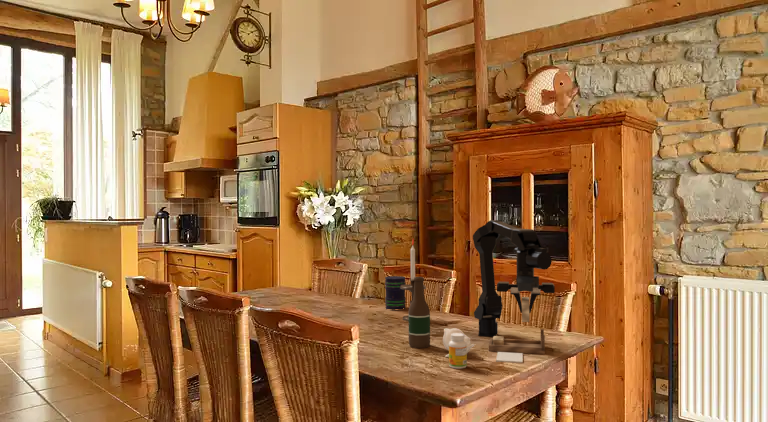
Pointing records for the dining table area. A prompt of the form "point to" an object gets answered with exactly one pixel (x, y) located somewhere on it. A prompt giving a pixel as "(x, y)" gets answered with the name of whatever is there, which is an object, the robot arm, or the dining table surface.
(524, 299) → the birch sheet
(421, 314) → the beer bottle
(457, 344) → the supplement bottle
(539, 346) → the rack
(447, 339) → the cat figurine
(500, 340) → the offcut stack
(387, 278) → the storage jar
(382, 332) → the dining table surface
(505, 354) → the felt pad
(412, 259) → the candlestick
